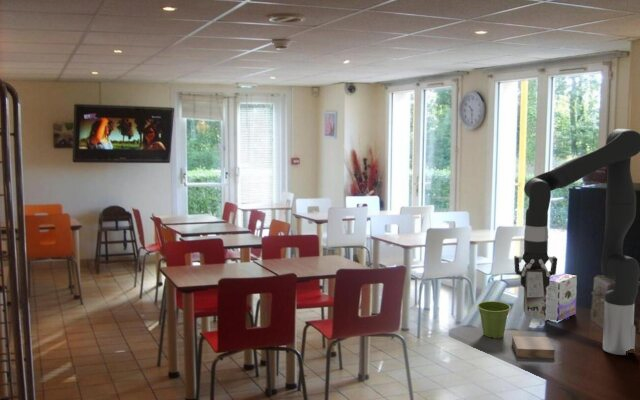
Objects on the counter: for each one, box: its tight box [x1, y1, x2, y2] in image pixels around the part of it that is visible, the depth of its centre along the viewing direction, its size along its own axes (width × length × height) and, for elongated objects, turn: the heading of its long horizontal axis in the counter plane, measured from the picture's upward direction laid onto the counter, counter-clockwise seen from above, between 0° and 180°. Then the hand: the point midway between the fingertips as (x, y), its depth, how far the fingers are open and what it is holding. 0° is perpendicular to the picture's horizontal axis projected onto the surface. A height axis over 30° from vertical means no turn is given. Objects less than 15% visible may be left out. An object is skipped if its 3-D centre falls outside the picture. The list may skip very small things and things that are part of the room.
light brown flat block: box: [511, 335, 556, 359], centre depth 228 cm, size 12×12×3 cm
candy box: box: [544, 273, 578, 321], centre depth 260 cm, size 14×6×16 cm, turn 130°
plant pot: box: [476, 300, 512, 339], centre depth 243 cm, size 12×12×11 cm
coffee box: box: [523, 268, 547, 320], centre depth 225 cm, size 9×6×16 cm
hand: (534, 286), depth 224 cm, fingers closed on coffee box, 6 cm apart
